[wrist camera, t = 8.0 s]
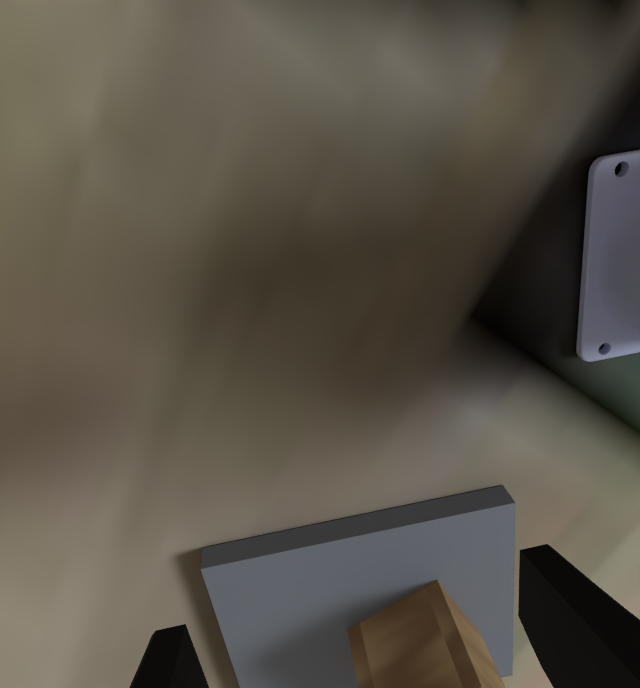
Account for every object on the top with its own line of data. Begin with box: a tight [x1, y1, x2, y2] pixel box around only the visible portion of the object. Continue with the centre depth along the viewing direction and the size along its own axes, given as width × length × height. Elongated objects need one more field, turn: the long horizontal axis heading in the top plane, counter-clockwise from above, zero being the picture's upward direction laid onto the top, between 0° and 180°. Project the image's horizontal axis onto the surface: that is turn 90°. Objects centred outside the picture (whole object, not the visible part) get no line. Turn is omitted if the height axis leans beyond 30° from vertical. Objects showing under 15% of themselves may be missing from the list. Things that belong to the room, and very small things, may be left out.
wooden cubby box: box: [347, 580, 505, 688], centre depth 23 cm, size 5×5×5 cm
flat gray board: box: [201, 485, 515, 688], centre depth 25 cm, size 14×12×1 cm
